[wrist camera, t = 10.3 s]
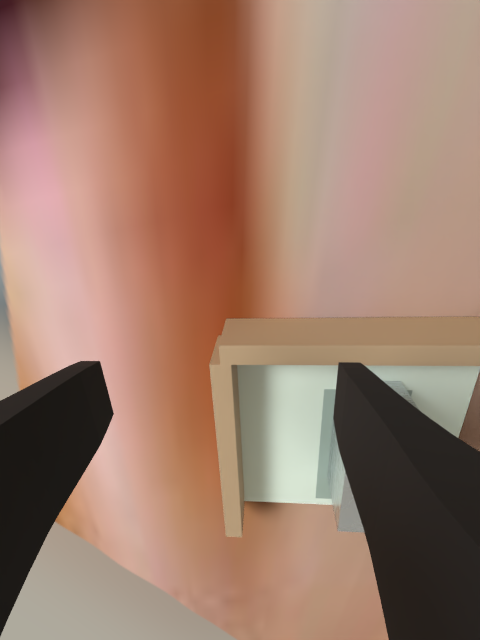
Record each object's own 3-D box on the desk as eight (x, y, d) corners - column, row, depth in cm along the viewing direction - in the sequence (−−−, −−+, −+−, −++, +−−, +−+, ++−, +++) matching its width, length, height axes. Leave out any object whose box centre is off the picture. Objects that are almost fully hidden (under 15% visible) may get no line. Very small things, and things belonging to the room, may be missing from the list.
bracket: (381, 479, 24) (422, 589, 18) (327, 478, 24) (348, 584, 18) (400, 380, 20) (461, 474, 14) (336, 380, 21) (367, 471, 14)
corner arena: (499, 316, 19) (546, 345, 16) (440, 502, 25) (464, 549, 22) (216, 318, 20) (207, 345, 17) (230, 493, 27) (226, 536, 24)
